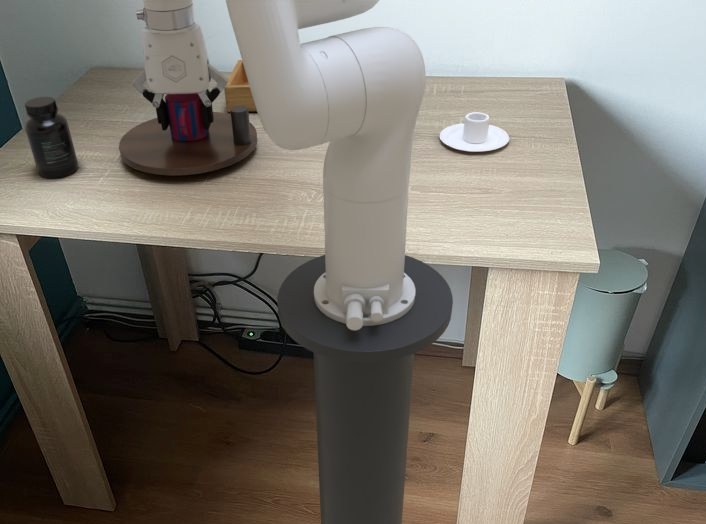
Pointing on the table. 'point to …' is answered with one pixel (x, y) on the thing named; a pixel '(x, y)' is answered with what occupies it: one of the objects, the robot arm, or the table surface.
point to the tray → (239, 89)
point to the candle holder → (474, 134)
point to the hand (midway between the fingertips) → (186, 126)
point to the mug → (185, 116)
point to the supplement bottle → (49, 138)
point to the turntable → (190, 146)
